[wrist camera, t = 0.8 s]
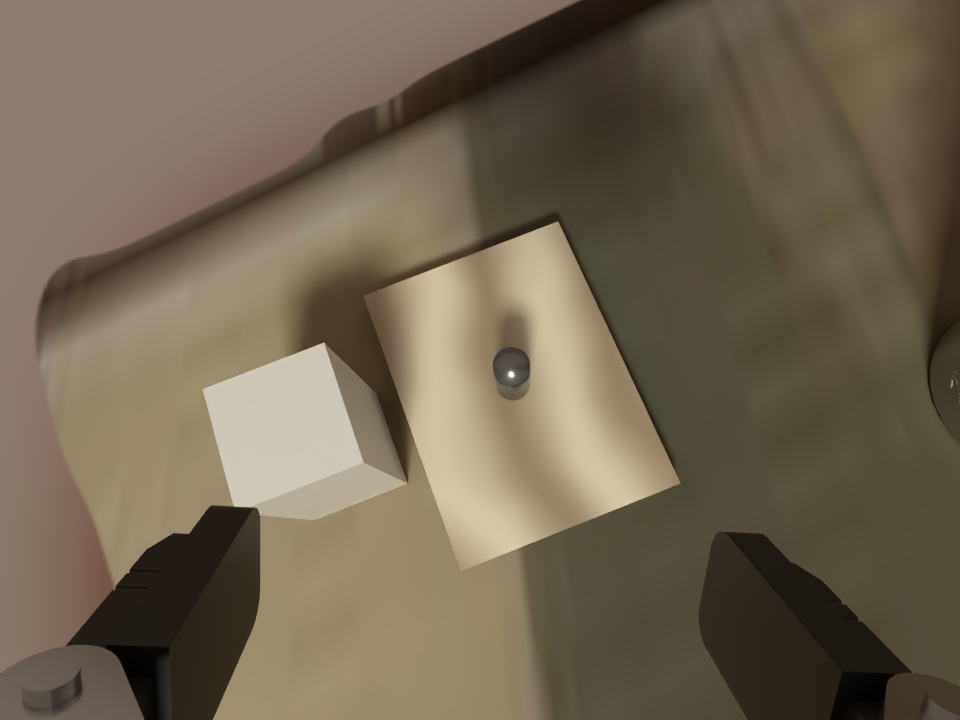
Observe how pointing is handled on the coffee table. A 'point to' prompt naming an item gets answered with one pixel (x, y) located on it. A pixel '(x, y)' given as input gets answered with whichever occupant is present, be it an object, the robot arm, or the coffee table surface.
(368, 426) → the block
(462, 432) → the stub plate
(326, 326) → the coffee table surface
